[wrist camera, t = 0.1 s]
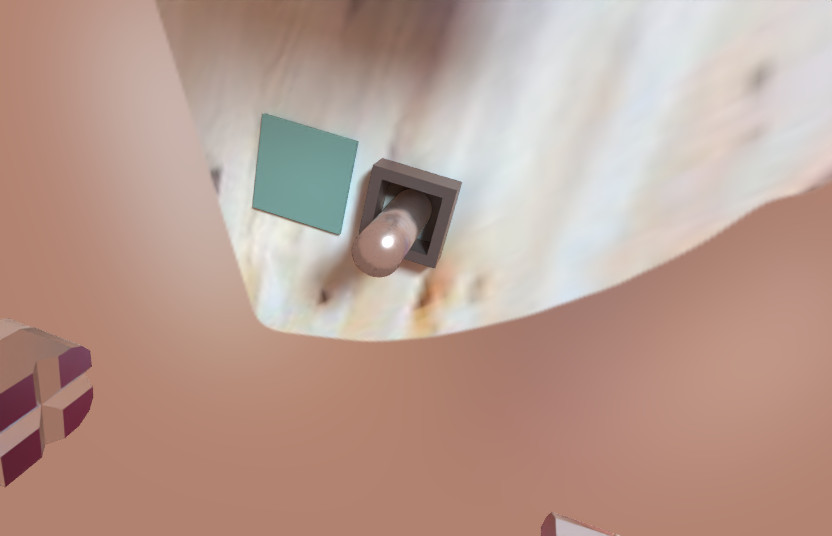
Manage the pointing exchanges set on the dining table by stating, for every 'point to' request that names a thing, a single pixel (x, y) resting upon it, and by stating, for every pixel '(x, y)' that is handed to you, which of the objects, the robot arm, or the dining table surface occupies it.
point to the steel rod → (391, 234)
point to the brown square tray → (421, 182)
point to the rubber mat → (303, 173)
